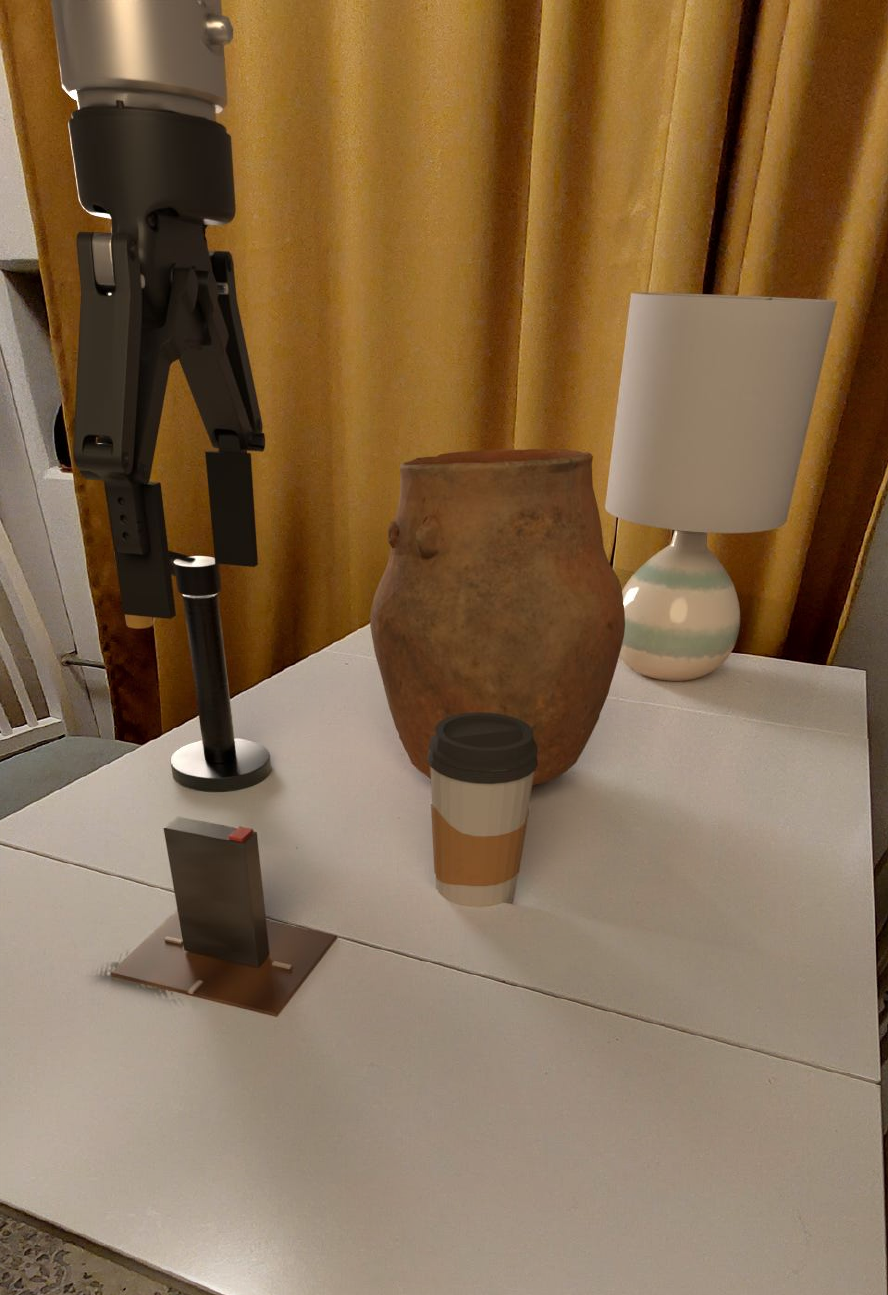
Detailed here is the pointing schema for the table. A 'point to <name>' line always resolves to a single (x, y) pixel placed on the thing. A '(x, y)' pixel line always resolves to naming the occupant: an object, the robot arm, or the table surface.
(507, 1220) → the table surface
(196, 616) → the faucet
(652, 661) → the lamp
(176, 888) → the dark gray slab
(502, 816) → the coffee cup
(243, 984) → the brown wooden board
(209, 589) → the crank handle
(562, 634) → the pot
